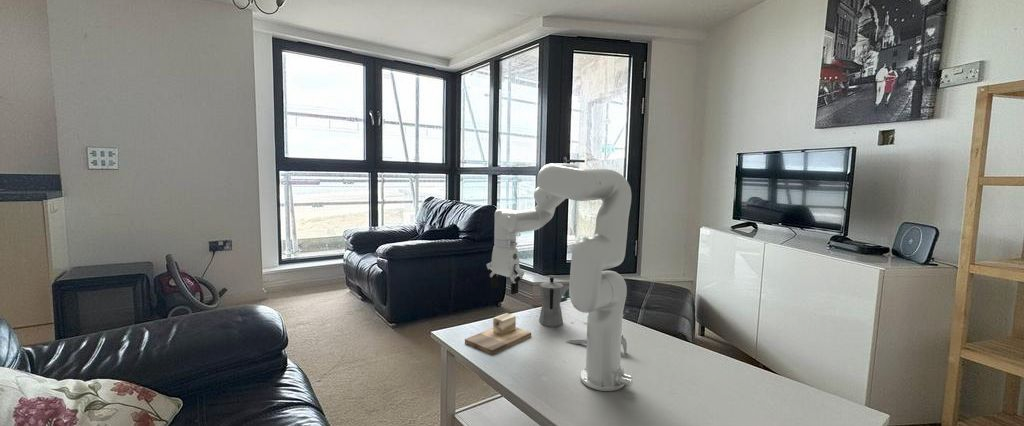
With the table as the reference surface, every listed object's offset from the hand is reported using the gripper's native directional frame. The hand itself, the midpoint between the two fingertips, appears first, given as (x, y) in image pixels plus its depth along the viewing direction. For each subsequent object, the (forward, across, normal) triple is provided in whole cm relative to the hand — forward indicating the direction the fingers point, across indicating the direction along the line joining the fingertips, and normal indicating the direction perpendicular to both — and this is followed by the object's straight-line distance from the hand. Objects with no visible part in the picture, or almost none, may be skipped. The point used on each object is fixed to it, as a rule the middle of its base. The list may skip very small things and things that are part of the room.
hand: (504, 290), depth 150 cm
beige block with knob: (+15, 0, 0) cm, 15 cm away
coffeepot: (+16, -6, -20) cm, 27 cm away
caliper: (+16, -30, -13) cm, 37 cm away
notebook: (+16, -2, +5) cm, 17 cm away
